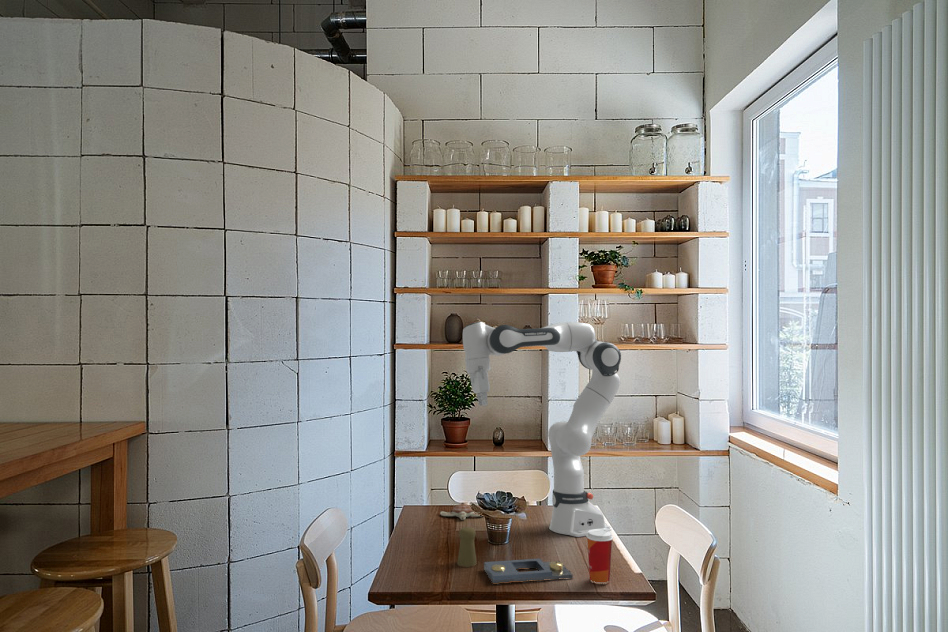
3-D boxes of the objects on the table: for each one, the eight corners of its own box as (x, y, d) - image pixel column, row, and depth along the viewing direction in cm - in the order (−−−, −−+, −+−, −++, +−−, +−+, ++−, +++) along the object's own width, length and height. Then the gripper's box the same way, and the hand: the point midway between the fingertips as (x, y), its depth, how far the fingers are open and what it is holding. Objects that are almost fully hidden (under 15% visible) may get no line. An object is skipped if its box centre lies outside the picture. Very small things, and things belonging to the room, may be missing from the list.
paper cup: (596, 574, 186) (596, 526, 187) (618, 581, 180) (618, 532, 181) (580, 581, 180) (580, 532, 181) (603, 588, 175) (603, 538, 176)
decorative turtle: (438, 522, 239) (438, 509, 239) (441, 510, 256) (441, 498, 256) (486, 523, 239) (486, 509, 239) (485, 511, 256) (485, 498, 256)
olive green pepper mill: (470, 568, 190) (470, 532, 190) (453, 564, 193) (453, 528, 193) (480, 562, 195) (480, 527, 195) (464, 559, 198) (464, 524, 198)
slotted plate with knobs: (559, 564, 193) (559, 555, 194) (572, 578, 182) (572, 569, 182) (484, 570, 188) (484, 560, 189) (493, 584, 177) (493, 574, 177)
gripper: (491, 364, 215) (496, 404, 213) (483, 367, 235) (488, 404, 233) (472, 366, 214) (478, 406, 212) (466, 369, 234) (471, 406, 232)
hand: (483, 405), depth 223 cm, fingers open, 8 cm apart
